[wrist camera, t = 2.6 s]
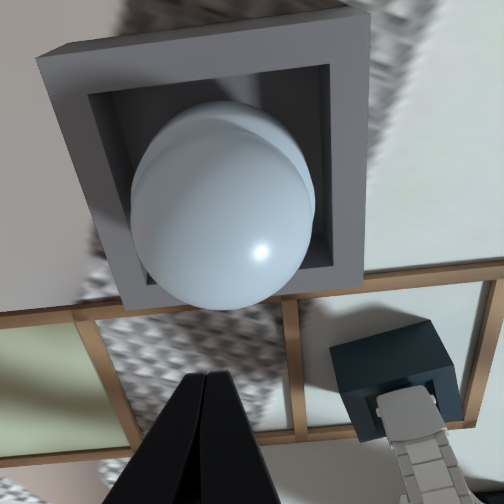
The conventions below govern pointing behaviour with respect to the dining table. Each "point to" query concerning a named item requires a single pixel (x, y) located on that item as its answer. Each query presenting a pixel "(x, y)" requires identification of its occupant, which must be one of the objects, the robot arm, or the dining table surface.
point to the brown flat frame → (113, 396)
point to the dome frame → (218, 89)
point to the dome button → (222, 205)
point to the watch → (406, 407)
